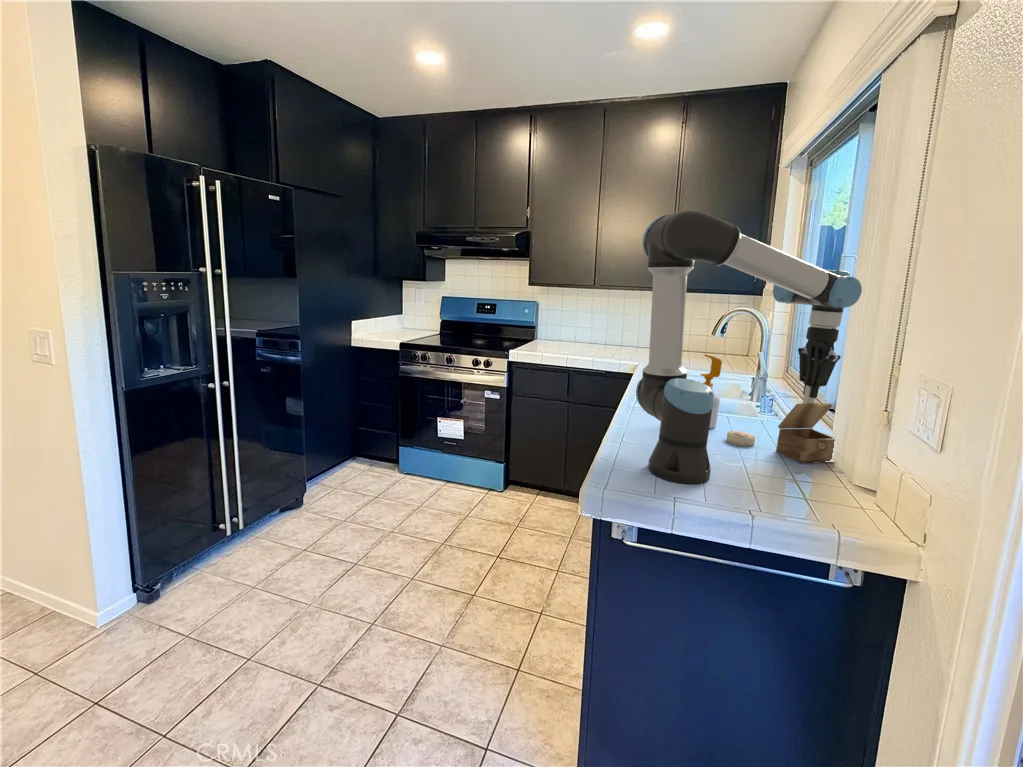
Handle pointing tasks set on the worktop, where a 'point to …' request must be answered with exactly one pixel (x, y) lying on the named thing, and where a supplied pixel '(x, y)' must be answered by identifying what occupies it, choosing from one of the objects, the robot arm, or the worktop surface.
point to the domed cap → (740, 438)
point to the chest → (805, 445)
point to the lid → (804, 415)
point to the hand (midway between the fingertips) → (807, 407)
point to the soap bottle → (716, 400)
